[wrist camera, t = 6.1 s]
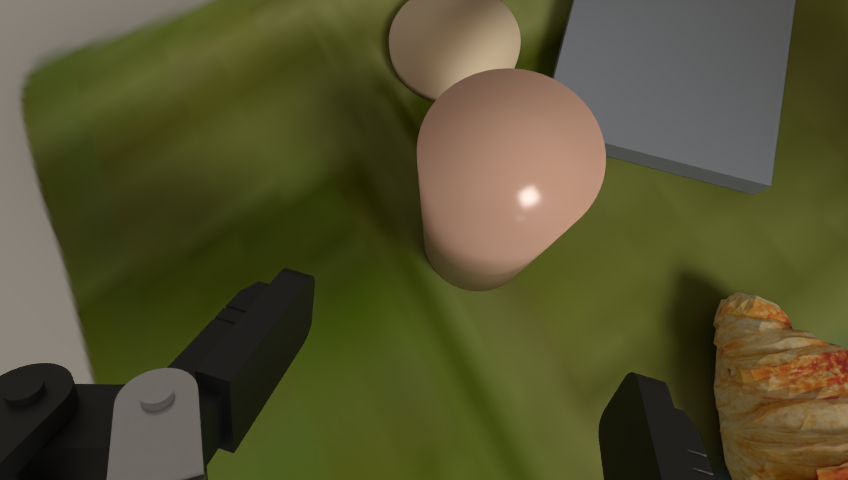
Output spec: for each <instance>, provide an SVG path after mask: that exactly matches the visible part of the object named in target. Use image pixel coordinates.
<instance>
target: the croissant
mask: <svg viewBox="0 0 848 480" xmlns="http://www.w3.org/2000/svg"><path fill="white" fill-rule="evenodd" d="M713 325H714V327H715V329H716V332H715V337H714V344H715V345H716V347H717V351H716V369H715V380H714V393H715V400H716V409H717V410H718V411H719V420H720V433H721V436H722V443H723V451H724V457H725V464H726V466H727V468H728V470H729V473H730V475H731V478H732V480H848V351H847V350H846V349H844V348H843V347H841V346H838V345H834V344H831V343H828V342H825V341H822V340H820V339H819V338H817V337H816V336H814V335H813V334H811V333H810V332H808V331H800V330H793V329H792V327H791V324H790V321H789V319H788V316H787V315H786V314H785V313H784V312H783V311H782V310H781V309H780V307H779V306H778V305H777V304H775V303H772V302H770V301H767V300H765V299H763V298H760V297H758V296H755V295H748V294H745V293H740V292H736V293H735V294H734V295H731V296H729V297H728V298H727V299H723V300H721V302H720V304H719V306H718V309H717V311H716V315H715V319H714V323H713Z"/></svg>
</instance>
